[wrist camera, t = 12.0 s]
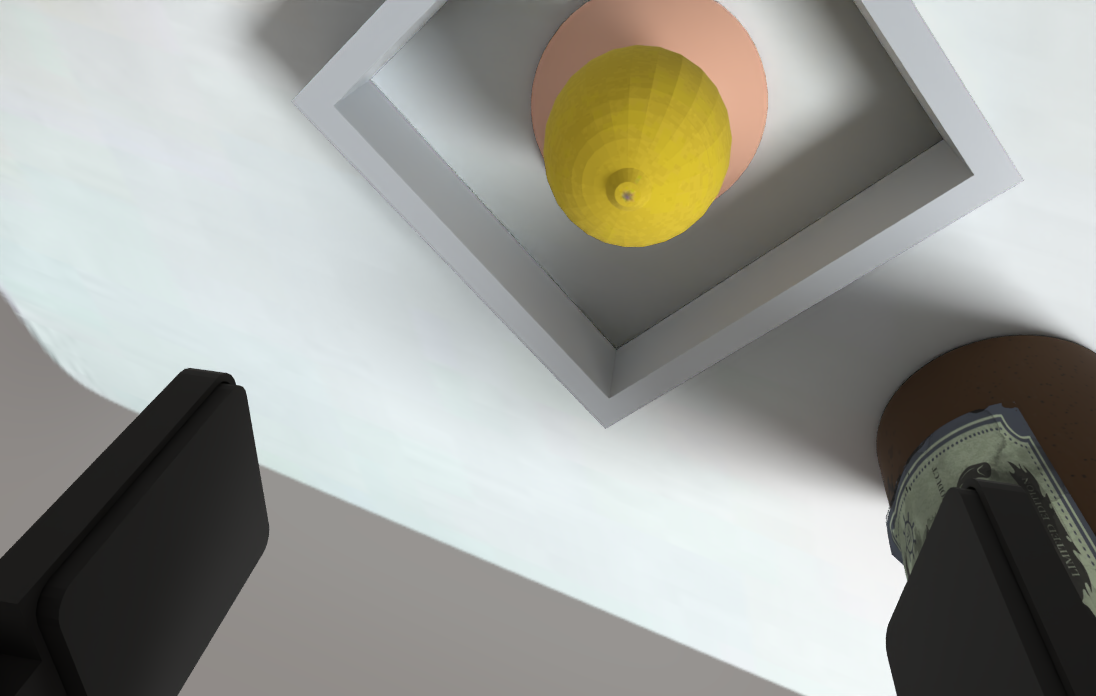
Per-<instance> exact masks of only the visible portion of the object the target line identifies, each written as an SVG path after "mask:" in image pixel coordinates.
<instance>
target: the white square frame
mask: <svg viewBox="0 0 1096 696" xmlns="http://www.w3.org/2000/svg"><path fill="white" fill-rule="evenodd" d="M447 1H448V0H386V1H385V2H384V3H383V4H382V5H381V6H380V7H379V8H378V9H377V10H376V12H375V13H374V14H373V15H372V16H371V17H370V18H369V19H368V20H367V21H366V22H365V23H364V24H363V25H362V26H361V27H360V29H359V30H358V31H357V32H356V33H355V34H354V35H353V36H352V37H351V38H350V39H349V40H348V41H347V42H346V43H345V45H344V46H343V47H342V48H341V49H340V50H339V51H338V52H337V53H336V54H335V55H334V56H333V57H332V58H331V59H330V60H329V62H328V63H327V64H326V65H325V66H324V67H323V68H322V69H321V70H320V71H319V72H318V73H317V74H316V75H315V76H314V77H313V79H312V80H311V81H310V82H309V83H308V84H307V85H306V86H305V87H304V88H303V89H302V90H301V91H300V92H299V93H298V95H297V96H296V97H295V98H294V99H293V100H292V101H291V102H292V103H293V104H294V105H295V106H296V107H297V108H298V109H299V110H300V111H301V112H302V113H303V114H304V115H305V116H306V117H307V118H308V119H309V120H310V121H311V122H312V124H313V125H314V126H315V127H316V128H317V129H318V130H319V131H320V132H321V133H322V134H323V135H324V136H325V137H326V138H327V139H328V140H329V141H330V142H331V143H332V144H333V145H334V146H335V148H336V149H337V150H338V151H339V152H340V153H341V154H342V155H343V156H344V157H345V158H346V159H347V160H348V161H349V162H350V163H351V164H352V165H353V166H354V167H355V168H356V169H357V170H358V171H359V173H360V174H361V175H362V176H363V177H364V178H365V179H366V180H367V181H368V182H369V183H370V184H371V185H372V186H373V187H374V188H375V189H376V190H377V191H378V192H379V193H380V194H381V195H382V197H383V198H384V199H385V200H386V201H387V202H388V203H389V204H390V205H391V206H392V207H393V208H394V209H395V210H396V211H397V212H398V213H399V214H400V215H401V216H402V217H403V218H404V219H405V220H406V222H407V223H408V224H409V225H410V226H411V227H412V228H413V229H414V230H415V231H416V232H417V233H418V234H419V235H420V236H421V237H422V238H423V239H424V240H425V241H426V242H427V243H428V244H429V246H430V247H431V248H432V249H433V250H434V251H435V252H436V253H437V254H438V255H439V256H440V257H441V258H442V259H443V260H444V261H445V262H446V263H447V264H448V265H449V266H450V267H451V268H452V269H453V271H454V272H455V273H456V274H457V275H458V276H459V277H460V278H461V279H462V280H463V281H464V282H465V283H466V284H467V285H468V286H469V287H470V288H471V289H472V290H473V291H474V292H475V293H476V295H477V296H478V297H479V298H480V299H481V300H482V301H483V302H484V303H485V304H486V305H487V306H488V307H489V308H490V309H491V310H492V311H493V312H494V313H495V314H496V315H497V316H498V317H499V318H500V320H501V321H502V322H503V323H504V324H505V325H506V326H507V327H508V328H509V329H510V330H511V331H512V332H513V333H514V334H515V335H516V336H517V337H518V338H519V339H520V340H521V341H522V342H523V344H524V345H525V346H526V347H527V348H528V349H529V350H530V351H531V352H532V353H533V354H534V355H535V356H536V357H537V358H538V359H539V360H540V361H541V362H542V363H543V364H544V365H545V366H546V367H547V369H548V370H549V371H550V372H551V373H552V374H553V375H554V376H555V377H556V378H557V379H558V380H559V381H560V382H561V383H562V384H563V385H564V386H565V387H566V388H567V389H568V390H569V391H570V393H571V394H572V395H573V396H574V397H575V398H576V399H577V400H578V401H579V402H580V403H581V404H582V405H583V406H584V407H585V408H586V409H587V410H588V411H589V412H590V413H591V414H592V415H593V416H594V418H595V419H596V420H597V421H598V422H599V423H600V424H601V425H602V426H603V427H604V428H605V429H606V428H608V427H609V426H611V425H613V424H614V423H616V422H618V421H619V420H621V419H623V418H624V417H626V416H628V415H629V414H631V413H633V412H634V411H636V410H638V409H640V408H641V407H643V406H645V405H646V404H648V403H650V402H651V401H653V400H655V399H656V398H658V397H660V396H661V395H663V394H665V393H666V392H668V391H670V390H672V389H673V388H675V387H677V386H678V385H680V384H682V383H683V382H685V381H687V380H688V379H690V378H692V377H693V376H695V375H697V374H699V373H700V372H702V371H704V370H705V369H707V368H709V367H710V366H712V365H714V364H715V363H717V362H719V361H720V360H722V359H724V358H725V357H727V356H729V355H731V354H732V353H734V352H736V351H737V350H739V349H741V348H742V347H744V346H746V345H747V344H749V343H751V342H752V341H754V340H756V339H758V338H759V337H761V336H763V335H764V334H766V333H768V332H769V331H771V330H773V329H774V328H776V327H778V326H779V325H781V324H783V323H784V322H786V321H788V320H790V319H791V318H793V317H795V316H796V315H798V314H800V313H801V312H803V311H805V310H806V309H808V308H810V307H811V306H813V305H815V304H816V303H818V302H820V301H822V300H823V299H825V298H827V297H828V296H830V295H832V294H833V293H835V292H837V291H838V290H840V289H842V288H843V287H845V286H847V285H849V284H850V283H852V282H854V281H855V280H857V279H859V278H860V277H862V276H864V275H865V274H867V273H869V272H870V271H872V270H874V269H875V268H877V267H879V266H881V265H882V264H884V263H886V262H887V261H889V260H891V259H892V258H894V257H896V256H897V255H899V254H901V253H902V252H904V251H906V250H907V249H909V248H911V247H913V246H914V245H916V244H918V243H919V242H921V241H923V240H924V239H926V238H928V237H929V236H931V235H933V234H934V233H936V232H938V231H940V230H941V229H943V228H945V227H946V226H948V225H950V224H951V223H953V222H955V221H956V220H958V219H960V218H961V217H963V216H965V215H966V214H968V213H970V212H972V211H973V210H975V209H977V208H978V207H980V206H982V205H983V204H985V203H987V202H988V201H990V200H992V199H993V198H995V197H997V196H998V195H1000V194H1002V193H1004V192H1005V191H1007V190H1009V189H1010V188H1012V187H1014V186H1015V185H1017V184H1019V183H1020V182H1022V181H1024V180H1023V178H1022V176H1021V175H1020V173H1019V172H1018V170H1017V168H1016V167H1015V165H1014V164H1013V162H1012V160H1011V159H1010V157H1009V156H1008V154H1007V152H1006V151H1005V149H1004V147H1003V146H1002V144H1001V143H1000V141H999V139H998V138H997V136H996V135H995V133H994V131H993V130H992V128H991V127H990V125H989V123H988V122H987V120H986V119H985V117H984V115H983V114H982V112H981V111H980V109H979V107H978V106H977V104H976V103H975V101H974V99H973V98H972V96H971V95H970V93H969V91H968V90H967V88H966V87H965V85H964V83H963V82H962V80H961V79H960V77H959V75H958V74H957V72H956V71H955V69H954V67H953V66H952V64H951V63H950V61H949V59H948V58H947V56H946V55H945V53H944V51H943V50H942V48H941V47H940V45H939V43H938V42H937V40H936V39H935V37H934V35H933V34H932V32H931V31H930V29H929V27H928V26H927V24H926V23H925V21H924V19H923V18H922V16H921V15H920V13H919V11H918V10H917V8H916V7H915V5H914V3H913V2H912V0H853V1H854V3H855V4H856V6H857V7H858V9H859V10H860V12H861V13H862V15H863V16H864V18H865V19H866V21H867V23H868V24H869V26H870V27H871V29H872V30H873V32H874V33H875V35H876V36H877V38H878V39H879V41H880V43H881V44H882V46H883V47H884V49H885V50H886V52H887V53H888V55H889V56H890V58H891V59H892V61H893V62H894V64H895V66H896V67H897V69H898V70H899V72H900V73H901V75H902V76H903V78H904V79H905V81H906V82H907V84H908V85H909V87H910V89H911V90H912V92H913V93H914V95H915V96H916V98H917V99H918V101H919V102H920V104H921V105H922V107H923V109H924V110H925V112H926V113H927V115H928V116H929V118H930V119H931V121H932V122H933V124H934V125H935V127H936V128H937V130H938V132H939V133H940V135H941V136H942V138H943V140H942V141H940V142H939V143H937V144H935V145H934V146H932V147H931V148H929V149H928V150H926V151H925V152H923V153H921V154H920V155H918V156H917V157H915V158H914V159H912V160H911V161H909V162H907V163H906V164H904V165H903V166H901V167H900V168H898V169H897V170H895V171H894V172H892V173H890V174H889V175H887V176H886V177H884V178H883V179H881V180H880V181H878V182H876V183H875V184H873V185H872V186H870V187H869V188H867V189H866V190H864V191H862V192H861V193H859V194H858V195H856V196H855V197H853V198H852V199H850V200H848V201H847V202H845V203H844V204H842V205H841V206H839V207H838V208H836V209H835V210H833V211H831V212H830V213H828V214H827V215H825V216H824V217H822V218H821V219H819V220H817V221H816V222H814V223H813V224H811V225H810V226H808V227H807V228H805V229H803V230H802V231H800V232H799V233H797V234H796V235H794V236H793V237H791V238H790V239H788V240H786V241H785V242H783V243H782V244H780V245H779V246H777V247H776V248H774V249H772V250H771V251H769V252H768V253H766V254H765V255H763V256H762V257H760V258H758V259H757V260H755V261H754V262H752V263H751V264H749V265H748V266H746V267H745V268H743V269H741V270H740V271H738V272H737V273H735V274H734V275H732V276H731V277H729V278H727V279H726V280H724V281H723V282H721V283H720V284H718V285H717V286H715V287H713V288H712V289H710V290H709V291H707V292H706V293H704V294H703V295H701V296H699V297H698V298H696V299H695V300H693V301H692V302H690V303H689V304H687V305H686V306H684V307H682V308H681V309H679V310H678V311H676V312H675V313H673V314H672V315H670V316H668V317H667V318H665V319H664V320H662V321H661V322H659V323H658V324H656V325H654V326H653V327H651V328H650V329H648V330H647V331H645V332H644V333H642V334H641V335H639V336H637V337H636V338H634V339H633V340H631V341H630V342H628V343H627V344H625V345H623V346H622V347H620V348H619V349H617V350H616V349H615V348H614V347H613V346H612V345H611V343H610V342H609V341H608V340H607V339H606V338H605V337H604V336H603V335H602V334H601V333H600V331H599V330H598V329H597V328H596V327H595V326H594V325H593V324H592V323H591V322H590V320H589V319H588V318H587V317H586V316H585V315H584V314H583V313H582V312H581V311H580V309H579V308H578V307H577V306H576V305H575V304H574V303H573V302H572V301H571V300H570V298H569V297H568V296H567V295H566V294H565V293H564V292H563V291H562V290H561V289H560V287H559V286H558V285H557V284H556V283H555V282H554V281H553V280H552V279H551V278H550V277H549V275H548V274H547V273H546V272H545V271H544V270H543V269H542V268H541V267H540V266H539V264H538V263H537V262H536V261H535V260H534V259H533V258H532V257H531V256H530V255H529V253H528V252H527V251H526V250H525V249H524V248H523V247H522V246H521V245H520V244H519V242H518V241H517V240H516V239H515V238H514V237H513V236H512V235H511V234H510V233H509V231H508V230H507V229H506V228H505V227H504V226H503V225H502V224H501V223H500V222H499V221H498V219H497V218H496V217H495V216H494V215H493V214H492V213H491V212H490V211H489V210H488V208H487V207H486V206H485V205H484V204H483V203H482V202H481V201H480V200H479V199H478V197H477V196H476V195H475V194H474V193H473V192H472V191H471V190H470V189H469V188H468V186H467V185H466V184H465V183H464V182H463V181H462V180H461V179H460V178H459V177H458V176H457V174H456V173H455V172H454V171H453V170H452V169H451V168H450V167H449V166H448V165H447V163H446V162H445V161H444V160H443V159H442V158H441V157H440V156H439V155H438V154H437V152H436V151H435V150H434V149H433V148H432V147H431V146H430V145H429V144H428V143H427V141H426V140H425V139H424V138H423V137H422V136H421V135H420V134H419V133H418V132H417V130H416V129H415V128H414V127H413V126H412V125H411V124H410V123H409V122H408V121H407V120H406V118H405V117H404V116H403V115H402V114H401V113H400V112H399V111H398V110H397V109H396V107H395V106H394V105H393V104H392V103H391V102H390V101H389V100H388V99H387V98H386V96H385V95H384V94H383V93H382V92H381V91H380V90H379V89H378V88H377V87H376V85H375V84H374V83H373V82H372V81H371V80H370V79H371V78H372V77H373V76H374V75H375V74H376V73H377V72H378V71H379V70H380V69H381V68H382V67H383V66H384V65H385V64H386V63H387V62H388V61H389V60H390V59H391V58H392V57H393V56H394V55H395V54H396V53H397V52H398V51H399V50H400V49H401V48H402V47H403V46H404V45H405V44H406V43H407V42H408V41H409V40H410V39H411V38H412V37H413V36H414V35H415V34H416V33H417V31H418V30H419V29H420V28H421V27H422V26H423V25H424V24H425V23H426V22H427V21H428V20H429V19H430V18H431V17H432V16H433V15H434V14H435V13H436V12H437V11H438V10H439V9H440V8H441V7H442V6H443V5H444V4H445V3H446V2H447ZM633 45H644V46H657V47H662V48H664V49H667V50H670V51H673V52H676V53H679V54H681V55H683V56H684V57H686V58H687V59H688V60H690V61H691V62H693V63H694V64H696V65H697V66H699V67H700V68H701V69H702V70H703V71H704V72H705V74H706V75H707V76H708V77H709V78H710V80H711V81H712V82H713V83H714V84H715V86H716V87H717V89H718V91H719V93H720V95H721V98H722V100H723V102H724V104H725V106H726V109H727V111H728V117H729V123H730V129H731V135H732V143H731V153H730V162H729V167H728V170H727V173H726V176H725V178H724V181H723V184H722V186H721V189H720V191H719V193H718V195H717V196H716V198H715V199H717V198H718V197H719V196H720V195H722V194H723V193H724V192H725V191H727V190H728V189H729V188H730V187H731V186H732V185H733V184H734V183H735V182H736V181H737V180H738V179H739V177H740V176H741V175H742V173H743V172H744V171H745V169H746V168H747V167H748V165H749V163H750V162H751V160H752V158H753V156H754V155H755V153H756V150H757V148H758V146H759V143H760V141H761V138H762V135H763V131H764V127H765V123H766V116H767V109H768V91H767V83H766V76H765V72H764V69H763V65H762V61H761V58H760V56H759V54H758V51H757V49H756V47H755V44H754V42H753V41H752V39H751V38H750V36H749V34H748V33H747V31H746V29H745V28H744V27H743V26H742V25H741V23H740V22H739V21H738V20H737V19H736V17H735V16H733V15H732V14H731V13H730V12H729V11H728V10H727V9H726V8H725V7H724V6H722V5H721V4H719V3H718V2H716V1H715V0H590V1H588V2H587V3H585V4H584V5H583V6H581V7H580V8H579V9H577V10H576V11H575V12H574V13H572V15H571V16H570V17H569V18H568V19H567V20H566V21H565V22H564V23H563V24H562V25H561V26H560V28H559V29H558V30H557V32H556V33H555V34H554V36H553V37H552V38H551V40H550V41H549V43H548V45H547V47H546V49H545V50H544V52H543V54H542V57H541V59H540V62H539V64H538V67H537V70H536V74H535V78H534V82H533V87H532V96H531V116H532V123H533V130H534V133H535V137H536V141H537V144H538V147H539V149H540V151H541V154H542V156H543V158H544V155H543V149H544V139H545V130H546V123H547V121H548V118H549V115H550V112H551V110H552V107H553V104H554V102H555V99H556V97H557V96H558V94H559V93H560V92H561V90H562V89H563V87H564V86H565V85H566V83H567V82H568V80H569V79H570V78H571V76H573V75H574V74H575V73H576V72H577V71H578V70H580V69H581V68H582V67H583V66H584V65H586V64H587V63H588V62H589V61H590V60H592V59H594V58H596V57H598V56H600V55H602V54H604V53H606V52H609V51H611V50H613V49H617V48H623V47H628V46H633ZM715 199H714V200H715Z"/></svg>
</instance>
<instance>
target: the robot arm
mask: <svg viewBox="0 0 1096 696" xmlns="http://www.w3.org/2000/svg"><path fill="white" fill-rule="evenodd" d="M268 537H269V523H268V517H267V511H266V505H265V499H264V493H263V488H262V482H261V476H260V471H259V464H258V458H257V452H256V447H255V441H254V435H253V429H252V423H251V417H250V412H249V406H248V400H247V395H246V391H245V389H244V388H243V387H242V386H239V385H236V383H235V380H234V378H233V377H232V376H231V375H230V374H228V373H222V372H215V371H208V370H201V369H194V368H188V369H184V370H183V371H182V372H180V373H179V374H178V375H177V376H176V377H175V378H174V379H173V380H172V381H171V382H170V383H169V384H168V385H167V387H166V388H165V389H164V390H163V391H162V392H161V393H160V394H159V395H158V396H157V397H156V398H155V399H154V400H153V401H152V402H151V403H150V404H149V405H148V406H147V407H146V408H145V409H144V410H143V411H142V412H141V413H140V415H139V416H138V417H137V418H136V419H135V420H134V421H133V422H132V423H131V424H130V425H129V426H128V427H127V428H126V429H125V430H124V431H123V432H122V433H121V434H120V435H119V436H118V437H117V438H116V440H114V441H113V443H112V444H111V445H110V446H109V447H108V448H107V449H106V450H105V451H104V452H103V453H102V454H101V455H100V456H99V457H98V458H97V459H96V460H95V461H94V462H93V463H92V464H91V466H89V468H87V469H86V470H85V472H84V473H83V474H82V475H81V476H80V477H79V478H78V479H77V480H76V481H75V482H74V483H73V484H72V485H71V486H70V487H69V488H68V489H67V490H66V491H65V492H64V493H63V494H62V496H60V497H59V499H58V500H57V501H56V502H55V503H54V504H53V505H52V506H51V507H50V508H49V509H48V510H47V511H46V512H45V513H44V514H43V515H42V516H41V517H40V518H39V519H38V520H37V521H36V522H35V523H34V524H33V526H31V528H30V529H29V530H28V531H27V532H26V533H25V534H24V535H23V536H22V537H21V538H20V539H19V540H18V541H17V542H16V543H15V544H14V545H13V546H12V547H11V548H10V549H9V550H8V551H7V552H6V553H5V555H4V556H3V557H2V558H1V559H0V696H177V695H178V694H179V692H180V690H181V689H182V687H183V685H184V683H185V682H186V680H187V678H188V677H189V675H190V674H191V672H192V670H193V669H194V667H195V665H196V664H197V662H198V660H199V659H200V657H201V655H202V654H203V652H204V651H205V649H206V647H207V646H208V644H209V642H210V641H211V639H212V637H213V636H214V634H215V632H216V630H217V629H218V627H219V626H220V624H221V622H222V621H223V619H224V617H225V616H226V614H227V612H228V611H229V609H230V607H231V606H232V604H233V602H234V601H235V599H236V597H237V596H238V594H239V592H240V591H241V589H242V587H243V586H244V584H245V582H246V581H247V579H248V577H249V576H250V574H251V572H252V571H253V569H254V567H255V566H256V564H257V562H258V560H259V559H260V557H261V556H262V554H263V552H264V550H265V548H266V545H267V541H268ZM886 651H887V656H888V660H889V665H890V669H891V673H892V677H893V681H894V685H895V689H896V693H897V696H1096V617H1095V615H1094V614H1093V612H1092V611H1091V609H1090V608H1089V607H1088V606H1087V605H1085V604H1084V603H1083V602H1082V600H1081V598H1080V596H1079V594H1078V592H1077V590H1076V588H1075V586H1074V585H1073V583H1072V581H1071V579H1070V577H1069V575H1068V573H1067V571H1066V569H1065V567H1064V565H1063V563H1062V561H1061V559H1060V558H1059V556H1058V554H1057V552H1056V550H1055V548H1054V546H1053V544H1052V542H1051V540H1050V538H1049V536H1048V534H1047V532H1046V530H1045V529H1044V527H1043V525H1042V523H1041V521H1040V519H1039V517H1038V515H1037V513H1036V511H1035V509H1034V507H1033V505H1032V503H1031V501H1030V500H1029V498H1028V496H1027V494H1026V492H1025V491H1024V489H1023V488H1022V487H1021V486H1019V485H1017V484H1012V483H1005V482H997V481H990V480H983V479H976V478H969V479H967V480H966V481H965V482H964V483H963V484H962V486H961V488H958V487H951V488H950V489H948V490H947V492H946V494H945V496H944V498H943V500H942V503H941V505H940V507H939V509H938V512H937V514H936V516H935V519H934V521H933V523H932V526H931V528H930V530H929V532H928V535H927V537H926V539H925V542H924V544H923V546H922V548H921V551H920V553H919V555H918V558H917V560H916V562H915V564H914V567H913V569H912V571H911V574H910V576H909V578H908V580H907V583H906V585H905V587H904V590H903V592H902V594H901V596H900V599H899V601H898V603H897V606H896V608H895V610H894V612H893V615H892V617H891V619H890V622H889V624H888V627H887V633H886Z"/></svg>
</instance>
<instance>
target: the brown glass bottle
mask: <svg viewBox="0 0 1096 696" xmlns="http://www.w3.org/2000/svg"><path fill="white" fill-rule="evenodd" d="M877 456H878V462H879V466H880V470H881V474H882V478H883V482H884V486H885V490H886V494H887V498H888V501H889V506H890V507H889V509H890V510H888V512H887V513H889V516H888V523H887V522H886V526H887V532H888V538H889V544H890V548H891V553H892V555H893V556H894V557H895V558H896V559H897V560H899V561H900V562H901V563H902V564H903V565H904V569H905V573H906V577H907V580H908V578H909V576H910V574H911V571H912V569H913V567H914V564H915V562H916V560H917V558H918V555H919V553H920V551H921V548H922V546H923V544H924V542H925V539H926V537H927V535H928V532H929V530H930V528H931V526H932V523H933V521H934V519H935V516H936V514H937V512H938V509H939V507H940V505H941V503H942V500H943V498H944V496H945V494H946V492H947V490H948V489H950V488H951V487H958V488H961V486H962V484H963V483H964V482H965V481H966V480H967V479H969V478H976V479H983V480H990V481H997V482H1005V483H1012V484H1017V485H1019V486H1021V487H1022V488H1023V489H1024V491H1025V492H1026V494H1027V496H1028V498H1029V500H1030V501H1031V503H1032V505H1033V507H1034V509H1035V511H1036V513H1037V515H1038V517H1039V519H1040V521H1041V523H1042V525H1043V527H1044V529H1045V530H1046V532H1047V534H1048V536H1049V538H1050V540H1051V542H1052V544H1053V546H1054V548H1055V550H1056V552H1057V554H1058V556H1059V558H1060V559H1061V561H1062V563H1063V565H1064V567H1065V569H1066V571H1067V573H1068V575H1069V577H1070V579H1071V581H1072V583H1073V585H1074V586H1075V588H1076V590H1077V592H1078V594H1079V596H1080V598H1081V600H1082V602H1083V603H1084V604H1085V605H1087V606H1088V607H1089V608H1090V609H1091V611H1092V612H1093V614H1094V615H1095V617H1096V353H1095V352H1093V351H1091V350H1089V349H1087V348H1085V347H1083V346H1080V345H1078V344H1075V343H1072V342H1069V341H1066V340H1062V339H1058V338H1052V337H1046V336H1035V335H1015V336H1004V337H996V338H991V339H986V340H982V341H978V342H974V343H971V344H968V345H965V346H962V347H959V348H957V349H954V350H952V351H950V352H948V353H946V354H944V355H942V356H940V357H938V358H936V359H934V360H933V361H931V362H929V363H928V364H926V365H925V366H923V367H922V368H921V369H919V370H918V371H917V372H916V373H914V374H913V375H912V376H911V377H910V378H909V379H908V380H907V381H906V382H905V383H904V384H903V385H902V386H901V387H900V388H899V389H898V390H897V392H896V393H895V394H894V395H893V397H892V398H891V400H890V401H889V403H888V405H887V406H886V408H885V410H884V413H883V415H882V417H881V420H880V423H879V427H878V432H877ZM889 511H890V512H889ZM887 515H888V514H887ZM887 515H886V516H887ZM886 520H887V517H886Z"/></svg>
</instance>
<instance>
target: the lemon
mask: <svg viewBox="0 0 1096 696" xmlns="http://www.w3.org/2000/svg"><path fill="white" fill-rule="evenodd" d="M731 143H732V135H731V129H730V123H729V117H728V111H727V109H726V106H725V104H724V102H723V100H722V98H721V95H720V93H719V91H718V89H717V87H716V86H715V84H714V83H713V82H712V81H711V80H710V78H709V77H708V76H707V75H706V74H705V72H704V71H703V70H702V69H701V68H700V67H699V66H697V65H696V64H694V63H693V62H691V61H690V60H688V59H687V58H686V57H684V56H683V55H681V54H679V53H676V52H673V51H670V50H667V49H664V48H662V47H657V46H644V45H633V46H628V47H623V48H617V49H613V50H611V51H609V52H606V53H604V54H602V55H600V56H598V57H596V58H594V59H592V60H590V61H589V62H588V63H587V64H586V65H584V66H583V67H582V68H581V69H580V70H578V71H577V72H576V73H575V74H574V75H573V76H571V78H570V79H569V80H568V82H567V83H566V85H565V86H564V87H563V89H562V90H561V92H560V93H559V94H558V96H557V97H556V99H555V102H554V104H553V107H552V110H551V112H550V115H549V118H548V121H547V123H546V130H545V139H544V149H543V155H544V162H545V169H546V175H547V180H548V183H549V185H550V187H551V190H552V192H553V194H554V197H555V199H556V201H557V203H558V205H559V206H560V207H561V209H562V210H563V211H564V213H565V214H566V215H567V217H568V218H569V219H570V220H571V221H572V222H573V223H574V224H575V225H577V226H578V227H579V228H580V229H582V230H583V231H584V232H585V233H586V234H588V235H590V236H592V237H594V238H596V239H599V240H601V241H603V242H605V243H609V244H614V245H618V246H623V247H645V246H649V245H653V244H657V243H661V242H665V241H667V240H669V239H671V238H673V237H675V236H677V235H679V234H681V233H683V232H685V231H686V230H687V229H688V228H689V227H690V226H692V225H693V224H694V223H695V222H696V221H697V220H699V219H700V218H701V217H702V216H703V215H704V214H705V212H706V211H707V209H708V208H709V206H710V205H711V204H712V202H713V201H714V199H715V198H716V196H717V195H718V193H719V191H720V189H721V186H722V184H723V181H724V178H725V176H726V173H727V170H728V167H729V162H730V153H731Z"/></svg>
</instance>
